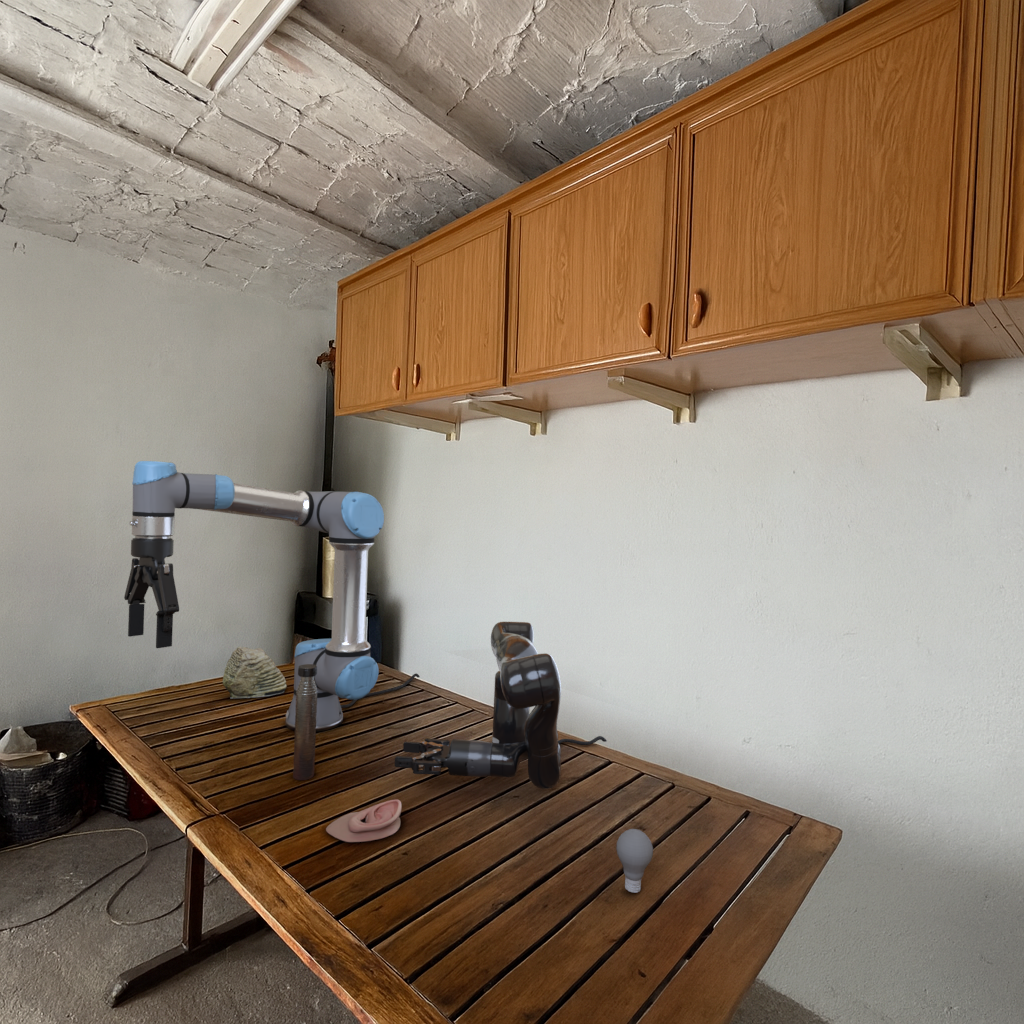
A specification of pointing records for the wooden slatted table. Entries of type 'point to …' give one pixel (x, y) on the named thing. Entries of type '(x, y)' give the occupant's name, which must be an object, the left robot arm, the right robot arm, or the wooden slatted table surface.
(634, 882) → the light bulb
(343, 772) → the wooden slatted table surface
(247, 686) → the fossil
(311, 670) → the cap
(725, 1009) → the wooden slatted table surface
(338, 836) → the anatomical model
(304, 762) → the bottle
